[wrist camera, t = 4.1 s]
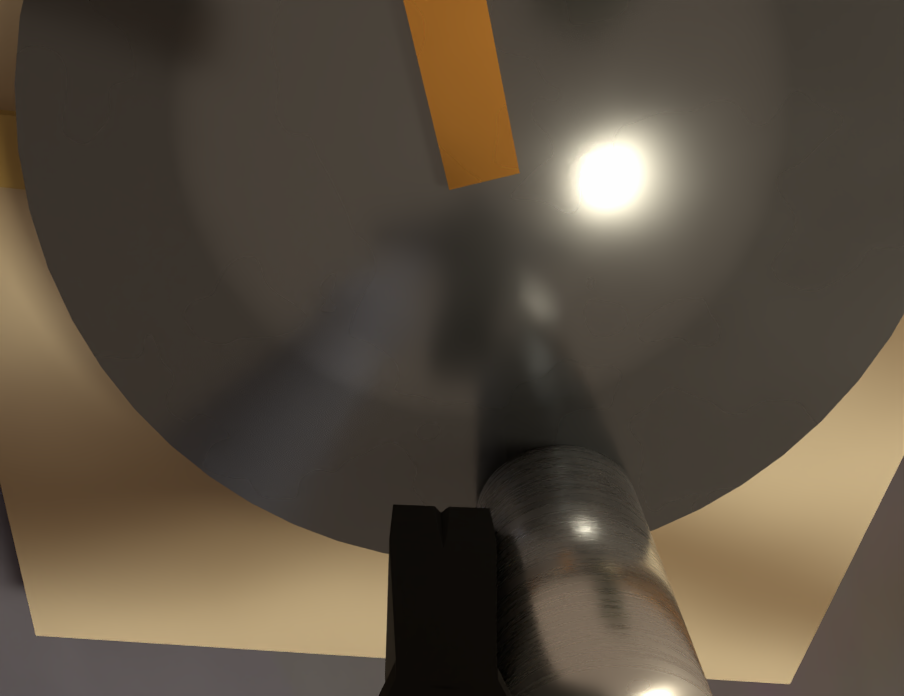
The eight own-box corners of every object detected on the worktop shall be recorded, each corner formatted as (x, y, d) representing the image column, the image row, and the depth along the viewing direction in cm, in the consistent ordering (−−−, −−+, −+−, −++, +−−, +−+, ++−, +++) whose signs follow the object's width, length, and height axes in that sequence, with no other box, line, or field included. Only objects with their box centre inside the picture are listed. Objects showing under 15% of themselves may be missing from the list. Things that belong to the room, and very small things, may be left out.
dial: (899, 467, 12) (1151, 733, 8) (251, 589, 13) (159, 880, 9) (971, -542, 7) (1952, -1514, 2) (-145, -184, 8) (-871, -391, 4)
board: (767, 638, 16) (795, 696, 15) (64, 590, 15) (27, 647, 14) (1378, -704, 7) (1588, -858, 6) (-260, -1031, 6) (-449, -1305, 5)
